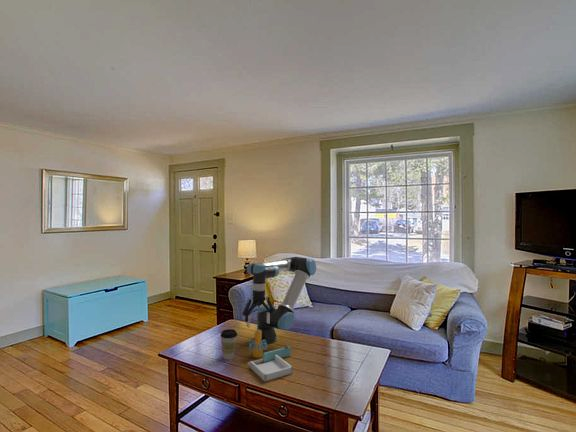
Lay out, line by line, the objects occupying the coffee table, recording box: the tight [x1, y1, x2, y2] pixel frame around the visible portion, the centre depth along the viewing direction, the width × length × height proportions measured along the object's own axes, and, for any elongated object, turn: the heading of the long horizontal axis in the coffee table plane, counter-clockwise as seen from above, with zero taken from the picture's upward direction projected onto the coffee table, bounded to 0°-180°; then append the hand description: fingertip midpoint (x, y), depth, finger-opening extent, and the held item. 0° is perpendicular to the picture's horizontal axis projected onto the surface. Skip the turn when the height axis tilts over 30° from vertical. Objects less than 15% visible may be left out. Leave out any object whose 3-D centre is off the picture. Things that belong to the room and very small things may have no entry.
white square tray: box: [246, 355, 294, 383], centre depth 169 cm, size 17×21×4 cm
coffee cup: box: [220, 328, 238, 360], centre depth 182 cm, size 10×10×15 cm
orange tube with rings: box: [248, 329, 268, 359], centre depth 185 cm, size 12×10×15 cm
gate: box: [262, 345, 292, 363], centre depth 181 cm, size 18×2×6 cm, turn 122°
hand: (258, 325), depth 185 cm, fingers open, 13 cm apart
